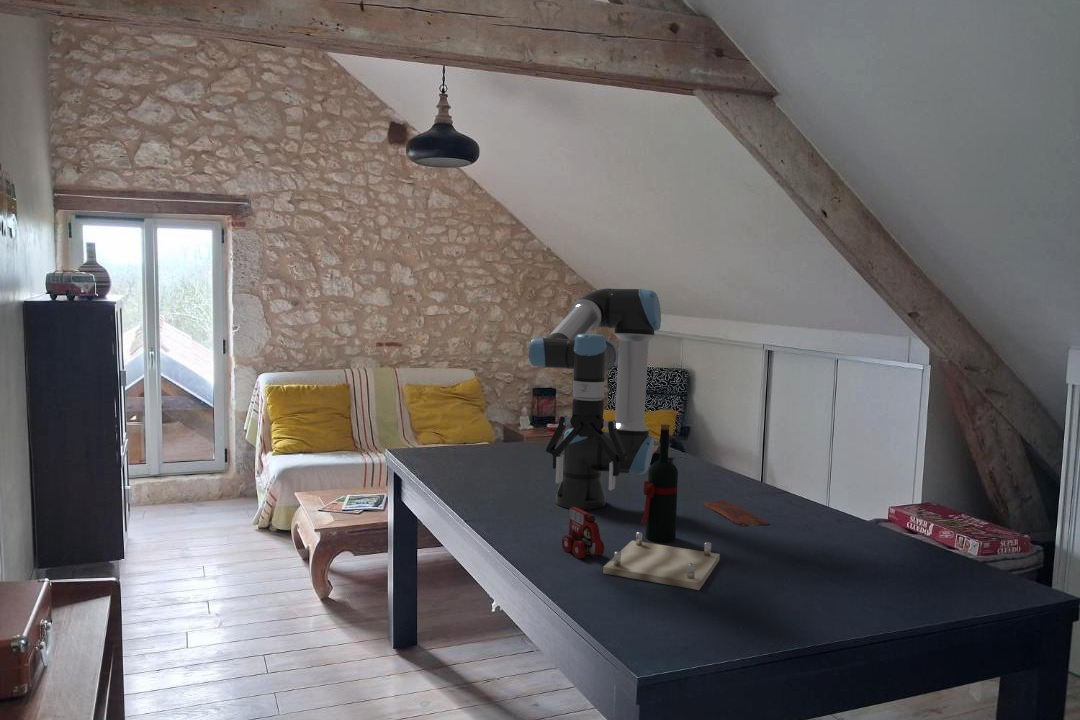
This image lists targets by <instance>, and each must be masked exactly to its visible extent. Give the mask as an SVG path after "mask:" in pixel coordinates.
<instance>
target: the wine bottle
mask: <svg viewBox="0 0 1080 720" xmlns="http://www.w3.org/2000/svg"><path fill="white" fill-rule="evenodd" d="M670 427H671V425H670V424H667V423H664V424H663V423H661V424H660V435H659V437H660V443H659V446H660V460H658V461H656V462H654V463H653V464H650V466H649V468H648V477H647V478H648V479H647V480H644V482H643V495H644V496H645V503H644V508H643V509H644V510H643V515H642V518H641V521H640V524H643V526H645V539H646V540H647V539H648V541H649V542H652V541H653V542H654V543H657V544H658V543H659V544H668V543H670V542H671V543H674V542H675V541H676V539H677V538H676V534H677V507H678V506H677V503H678V483H679V482H678V479H679V470H678V468H677V466H676V465H675V464H674V463H673V462H671V461H669V449H670V448H669V447H670Z"/></svg>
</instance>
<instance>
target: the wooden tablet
mask: <svg viewBox="0 0 1080 720" xmlns="http://www.w3.org/2000/svg"><path fill="white" fill-rule="evenodd" d="M703 503H704V504H703ZM702 504H703V505H704V506H706V507H708V509H711V510H712V511H714V512H716V513H718V514H720V515H721V516H723V517H724V518H726V519H728V520H729V521H731V522H732V523H733V524H735V525H737V526H739V525H740V527H748V526H747V525H750V524H752V525H750V526H769V525H770V522H768V521H767V520H766V519H764V518H762V517H760V516H758V514H754V513H753V512H750V511H749V510H746V509H744V508H742V507H740V506H738V505H736V504H734V503H732V502H729V501H728V500H724V499H720V500H718V499H717V500H710V501H707V502H706V501H703V502H702Z"/></svg>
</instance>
